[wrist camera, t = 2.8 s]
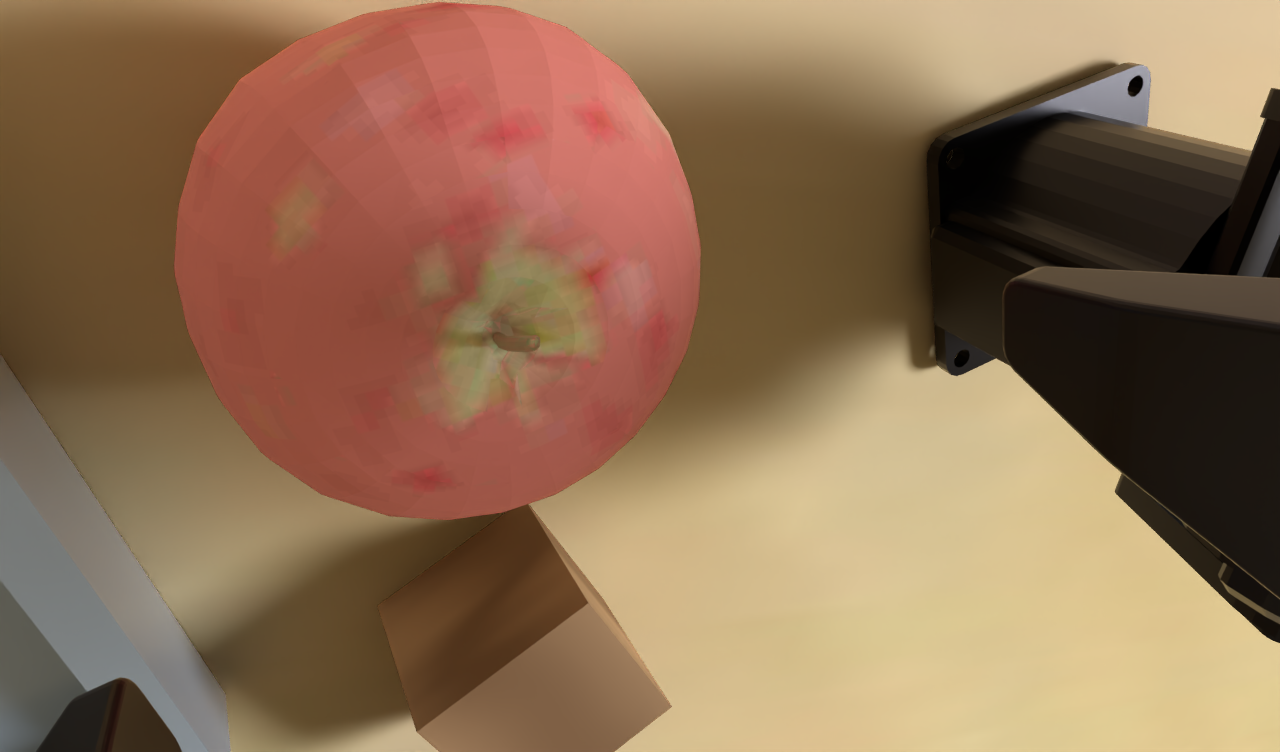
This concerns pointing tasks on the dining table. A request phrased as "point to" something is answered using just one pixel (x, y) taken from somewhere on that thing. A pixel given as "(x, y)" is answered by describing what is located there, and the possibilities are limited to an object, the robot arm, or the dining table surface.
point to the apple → (438, 259)
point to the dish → (81, 600)
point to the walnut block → (516, 649)
